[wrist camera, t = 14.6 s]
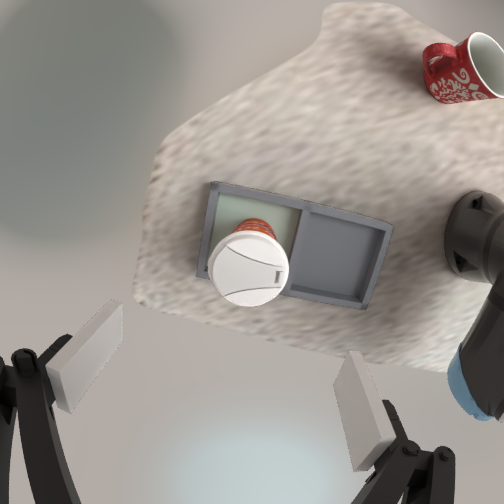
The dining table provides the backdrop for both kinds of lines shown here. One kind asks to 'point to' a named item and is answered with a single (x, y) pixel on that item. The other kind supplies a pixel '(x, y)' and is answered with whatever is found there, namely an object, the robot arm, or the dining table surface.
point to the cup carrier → (304, 242)
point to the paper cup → (249, 265)
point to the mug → (465, 70)
